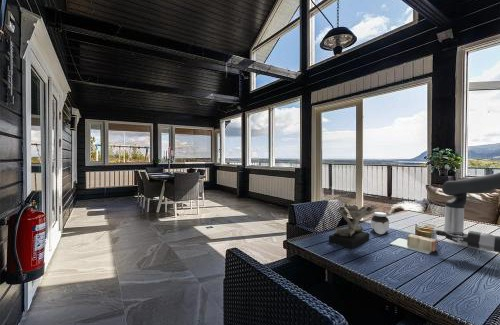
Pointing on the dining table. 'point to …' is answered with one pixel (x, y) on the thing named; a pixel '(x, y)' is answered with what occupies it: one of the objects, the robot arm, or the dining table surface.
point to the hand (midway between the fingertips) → (436, 232)
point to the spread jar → (380, 222)
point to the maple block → (422, 242)
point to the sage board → (403, 244)
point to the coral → (351, 227)
